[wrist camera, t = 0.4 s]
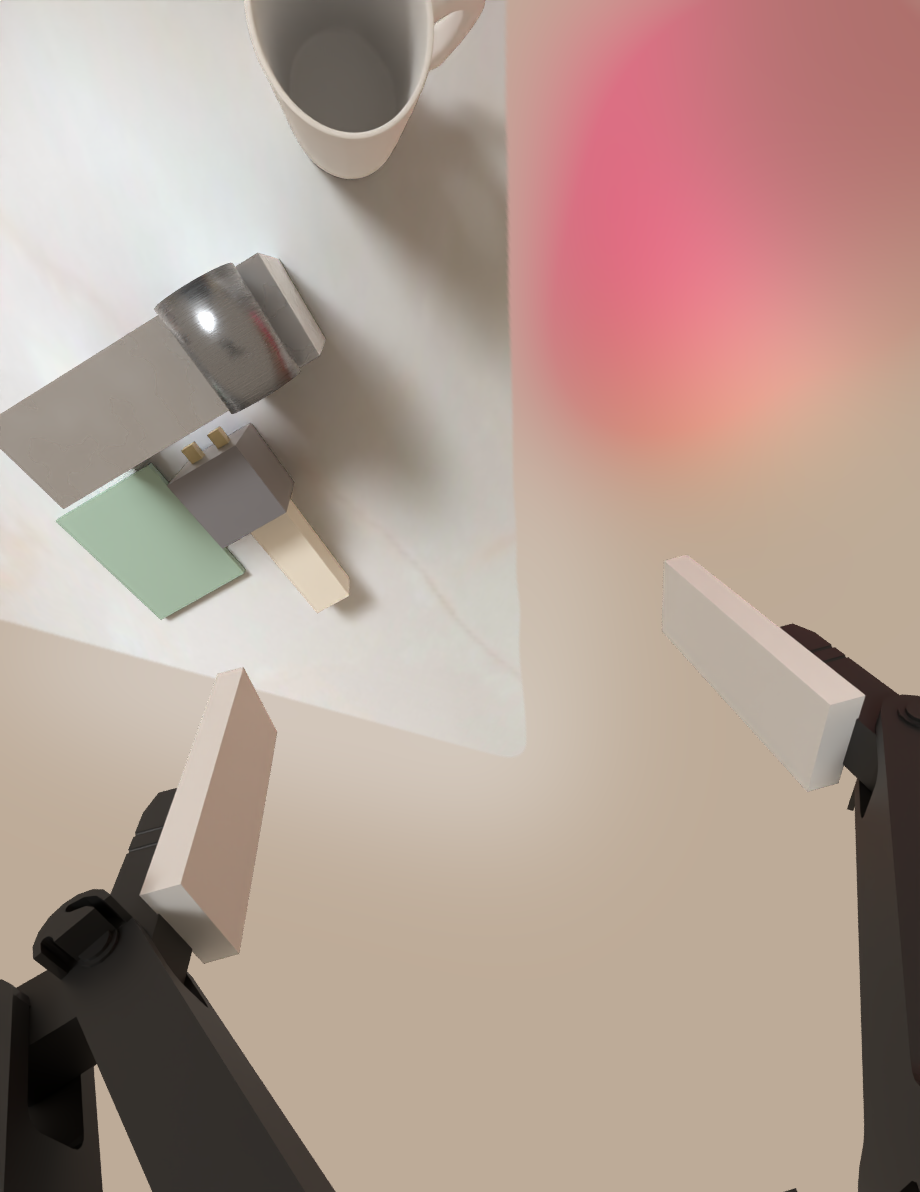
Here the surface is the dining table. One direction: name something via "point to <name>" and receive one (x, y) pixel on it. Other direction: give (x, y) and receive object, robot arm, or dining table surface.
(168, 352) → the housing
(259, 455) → the plug
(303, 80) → the mug
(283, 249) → the dining table surface
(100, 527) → the mat
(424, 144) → the dining table surface
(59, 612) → the dining table surface
